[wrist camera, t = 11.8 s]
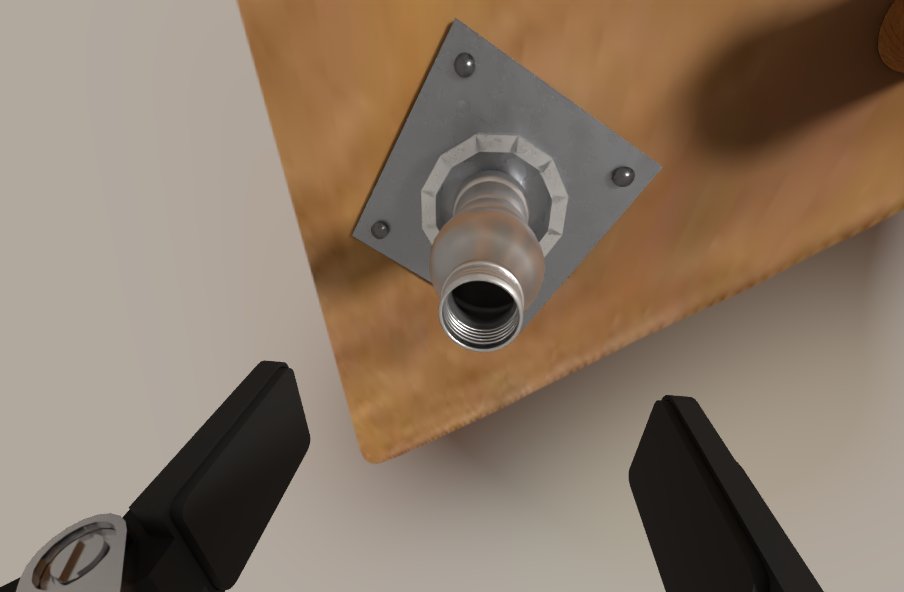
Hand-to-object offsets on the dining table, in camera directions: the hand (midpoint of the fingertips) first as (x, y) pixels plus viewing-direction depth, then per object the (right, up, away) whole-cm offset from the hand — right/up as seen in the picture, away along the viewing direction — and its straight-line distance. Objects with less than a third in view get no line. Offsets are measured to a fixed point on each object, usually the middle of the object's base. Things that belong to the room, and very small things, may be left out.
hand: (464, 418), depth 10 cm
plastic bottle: (+3, +12, +23) cm, 26 cm away
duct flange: (+3, +12, +24) cm, 27 cm away
